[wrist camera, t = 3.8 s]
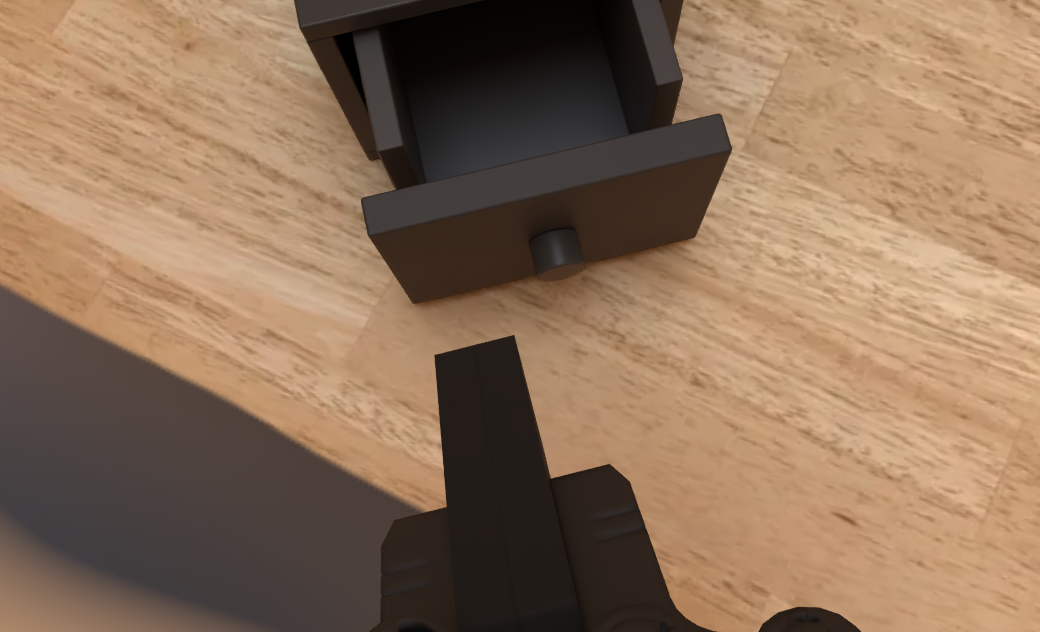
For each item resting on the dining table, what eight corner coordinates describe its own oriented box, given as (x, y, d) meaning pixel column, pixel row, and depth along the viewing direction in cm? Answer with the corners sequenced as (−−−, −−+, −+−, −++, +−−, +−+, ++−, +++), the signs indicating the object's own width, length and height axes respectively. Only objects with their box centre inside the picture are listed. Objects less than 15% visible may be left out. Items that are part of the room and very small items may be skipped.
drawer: (705, 269, 33) (745, 189, 26) (419, 337, 33) (376, 277, 26) (609, -60, 36) (619, -217, 29) (349, 1, 36) (291, -140, 29)
